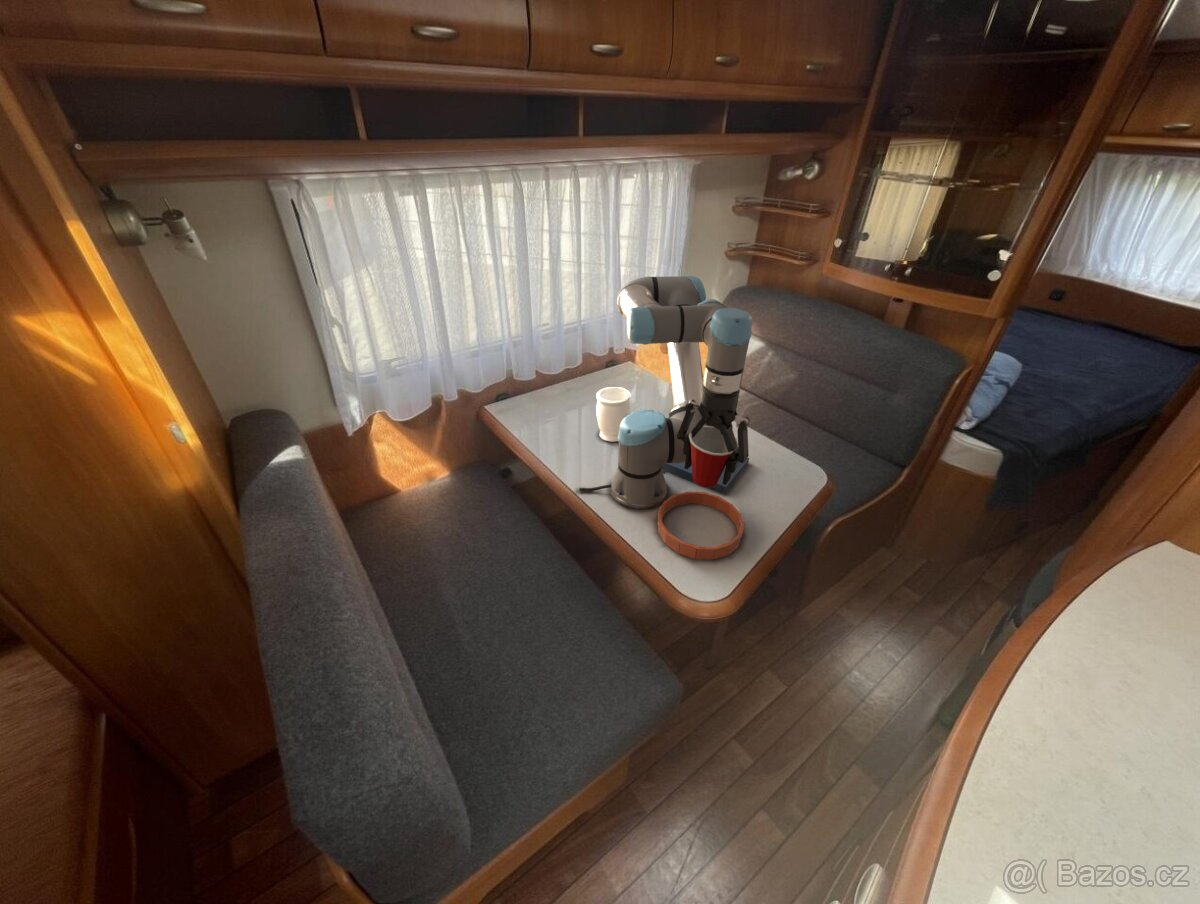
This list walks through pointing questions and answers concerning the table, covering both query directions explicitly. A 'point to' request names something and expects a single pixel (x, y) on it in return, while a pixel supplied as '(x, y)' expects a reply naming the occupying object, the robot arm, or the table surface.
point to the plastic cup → (708, 456)
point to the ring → (693, 550)
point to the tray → (719, 487)
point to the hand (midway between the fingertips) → (707, 473)
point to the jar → (611, 411)
